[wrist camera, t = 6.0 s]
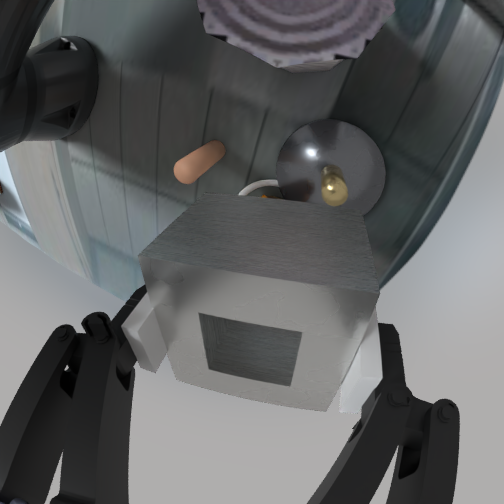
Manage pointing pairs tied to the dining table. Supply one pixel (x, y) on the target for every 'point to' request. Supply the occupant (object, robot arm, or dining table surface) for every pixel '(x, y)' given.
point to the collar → (262, 296)
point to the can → (297, 29)
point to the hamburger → (259, 184)
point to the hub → (331, 166)
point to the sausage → (198, 161)
